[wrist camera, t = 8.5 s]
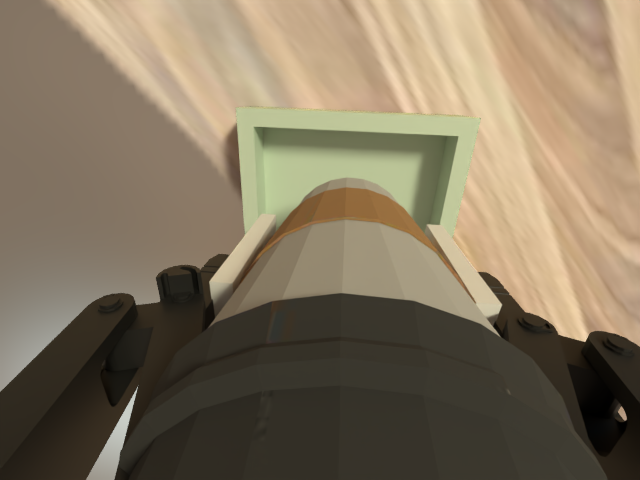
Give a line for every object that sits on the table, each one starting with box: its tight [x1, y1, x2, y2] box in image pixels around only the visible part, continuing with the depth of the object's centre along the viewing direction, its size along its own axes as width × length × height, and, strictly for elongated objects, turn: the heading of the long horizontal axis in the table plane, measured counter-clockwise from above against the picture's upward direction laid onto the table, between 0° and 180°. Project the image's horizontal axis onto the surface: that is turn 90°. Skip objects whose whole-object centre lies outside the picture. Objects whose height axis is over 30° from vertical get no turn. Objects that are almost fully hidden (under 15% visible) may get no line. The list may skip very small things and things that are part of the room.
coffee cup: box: [119, 177, 607, 480], centre depth 11 cm, size 8×8×15 cm
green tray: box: [236, 107, 481, 239], centre depth 23 cm, size 20×14×3 cm
